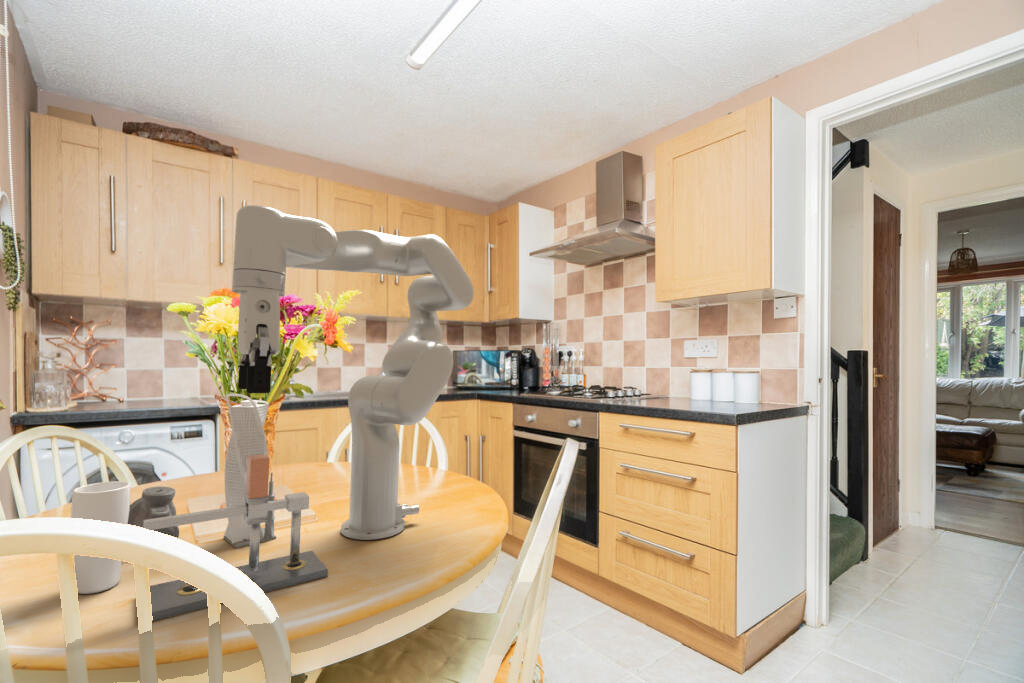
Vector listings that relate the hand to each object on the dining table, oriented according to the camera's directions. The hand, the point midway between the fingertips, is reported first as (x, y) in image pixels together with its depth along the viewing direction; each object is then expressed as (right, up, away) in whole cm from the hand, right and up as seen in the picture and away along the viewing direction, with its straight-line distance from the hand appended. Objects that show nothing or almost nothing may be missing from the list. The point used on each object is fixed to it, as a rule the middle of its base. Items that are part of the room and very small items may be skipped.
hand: (253, 390), depth 77 cm
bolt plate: (-1, -30, -3) cm, 30 cm away
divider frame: (-2, -28, -4) cm, 29 cm away
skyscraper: (-10, -30, +15) cm, 35 cm away
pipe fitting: (-25, -30, +12) cm, 41 cm away
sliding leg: (+1, -28, -2) cm, 28 cm away
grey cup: (-21, -29, -5) cm, 36 cm away
